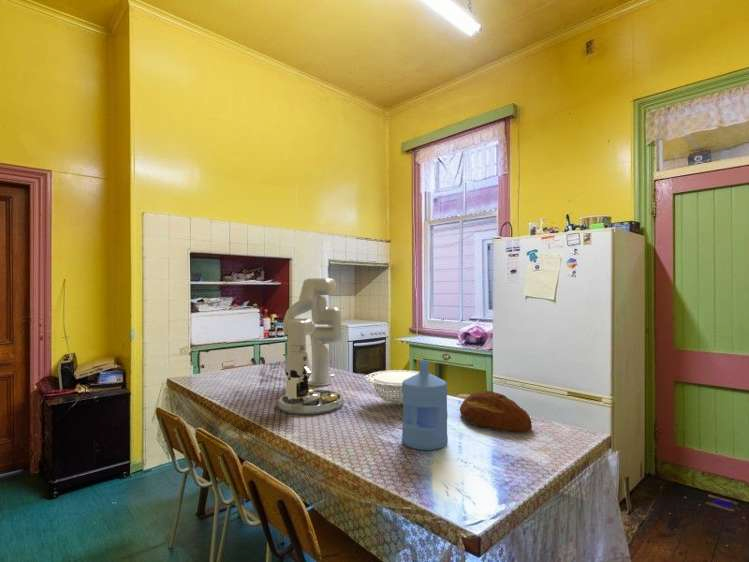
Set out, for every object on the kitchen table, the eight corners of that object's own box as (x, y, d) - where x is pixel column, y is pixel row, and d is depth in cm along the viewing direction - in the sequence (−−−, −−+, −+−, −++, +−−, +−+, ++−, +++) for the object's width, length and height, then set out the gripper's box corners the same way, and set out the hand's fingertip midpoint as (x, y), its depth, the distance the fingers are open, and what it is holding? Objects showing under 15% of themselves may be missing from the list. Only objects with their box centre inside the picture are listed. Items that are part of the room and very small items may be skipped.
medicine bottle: (296, 399, 177) (296, 371, 178) (285, 396, 182) (285, 369, 182) (308, 395, 183) (308, 368, 183) (297, 393, 187) (297, 366, 188)
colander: (426, 419, 169) (426, 387, 169) (354, 411, 179) (353, 382, 179) (440, 398, 199) (440, 372, 199) (377, 393, 209) (377, 368, 209)
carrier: (312, 393, 210) (312, 382, 210) (356, 403, 192) (356, 391, 192) (265, 407, 186) (265, 394, 187) (310, 419, 169) (310, 405, 169)
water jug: (418, 431, 155) (417, 356, 155) (455, 441, 145) (455, 360, 145) (393, 443, 143) (392, 362, 143) (432, 455, 133) (431, 367, 133)
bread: (508, 442, 145) (508, 406, 145) (445, 417, 172) (444, 387, 172) (546, 430, 156) (546, 397, 156) (481, 408, 184) (481, 380, 184)
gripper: (317, 349, 180) (317, 390, 180) (290, 345, 191) (290, 384, 191) (304, 351, 174) (304, 393, 174) (277, 347, 185) (277, 387, 185)
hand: (297, 388), depth 183 cm, fingers closed on medicine bottle, 7 cm apart
